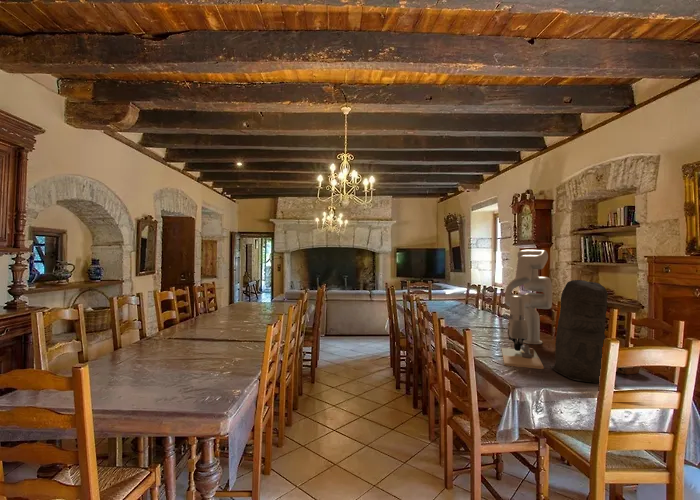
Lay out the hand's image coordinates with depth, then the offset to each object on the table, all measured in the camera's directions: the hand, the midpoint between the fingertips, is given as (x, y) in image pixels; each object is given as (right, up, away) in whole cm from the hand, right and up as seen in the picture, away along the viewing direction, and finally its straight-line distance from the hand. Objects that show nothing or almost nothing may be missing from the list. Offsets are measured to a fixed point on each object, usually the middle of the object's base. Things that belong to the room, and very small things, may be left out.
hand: (517, 350), depth 210 cm
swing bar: (+3, +1, -1) cm, 3 cm away
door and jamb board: (-1, -3, -7) cm, 7 cm away
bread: (+36, -3, -25) cm, 44 cm away
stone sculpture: (+14, -3, -36) cm, 39 cm away
